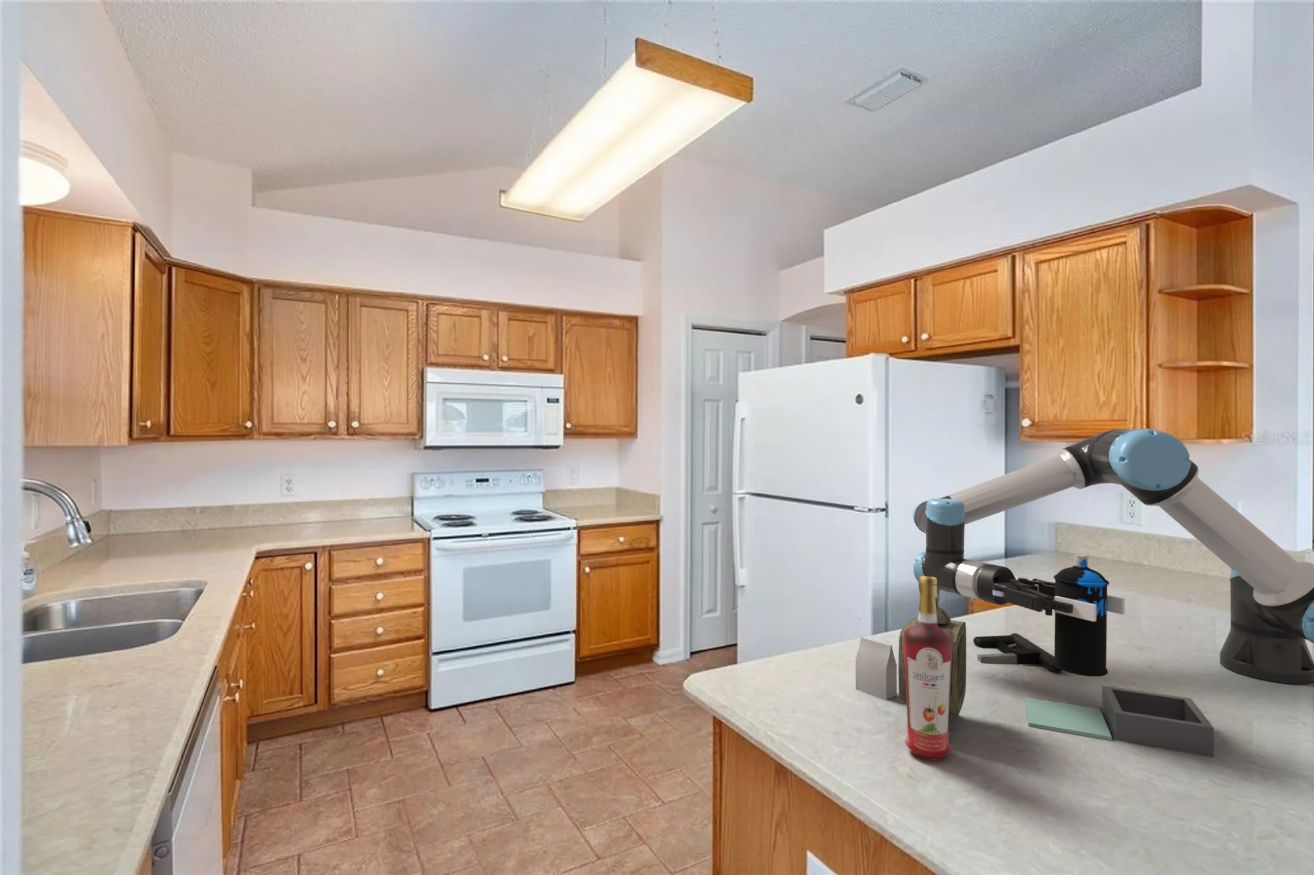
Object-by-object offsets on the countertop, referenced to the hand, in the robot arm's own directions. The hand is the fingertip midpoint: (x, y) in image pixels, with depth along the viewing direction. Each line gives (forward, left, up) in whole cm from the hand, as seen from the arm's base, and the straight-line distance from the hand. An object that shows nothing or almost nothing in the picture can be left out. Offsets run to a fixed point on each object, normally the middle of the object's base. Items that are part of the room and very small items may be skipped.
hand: (1109, 609), depth 111 cm
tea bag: (+38, -1, -21) cm, 44 cm away
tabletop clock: (+27, +9, -21) cm, 36 cm away
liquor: (+27, +21, -21) cm, 40 cm away
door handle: (+14, -35, -22) cm, 43 cm away
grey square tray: (-7, -4, -21) cm, 22 cm away
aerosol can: (+4, -3, -12) cm, 13 cm away
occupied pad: (+6, -3, -21) cm, 22 cm away
